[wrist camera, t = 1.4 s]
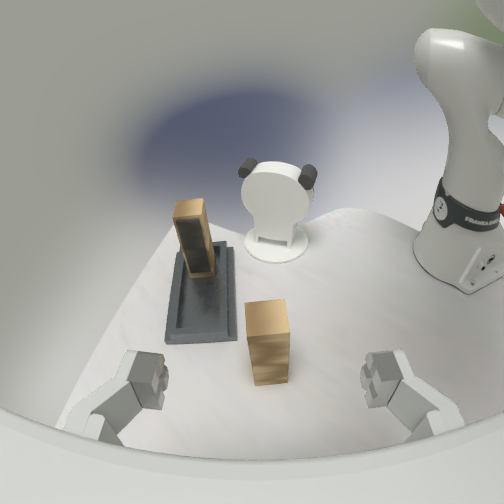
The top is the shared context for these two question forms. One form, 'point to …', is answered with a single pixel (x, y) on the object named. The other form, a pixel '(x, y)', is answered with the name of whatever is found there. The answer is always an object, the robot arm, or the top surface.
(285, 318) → the oak finger
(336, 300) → the top surface
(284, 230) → the panda figurine
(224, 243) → the dark grey tray
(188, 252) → the block
